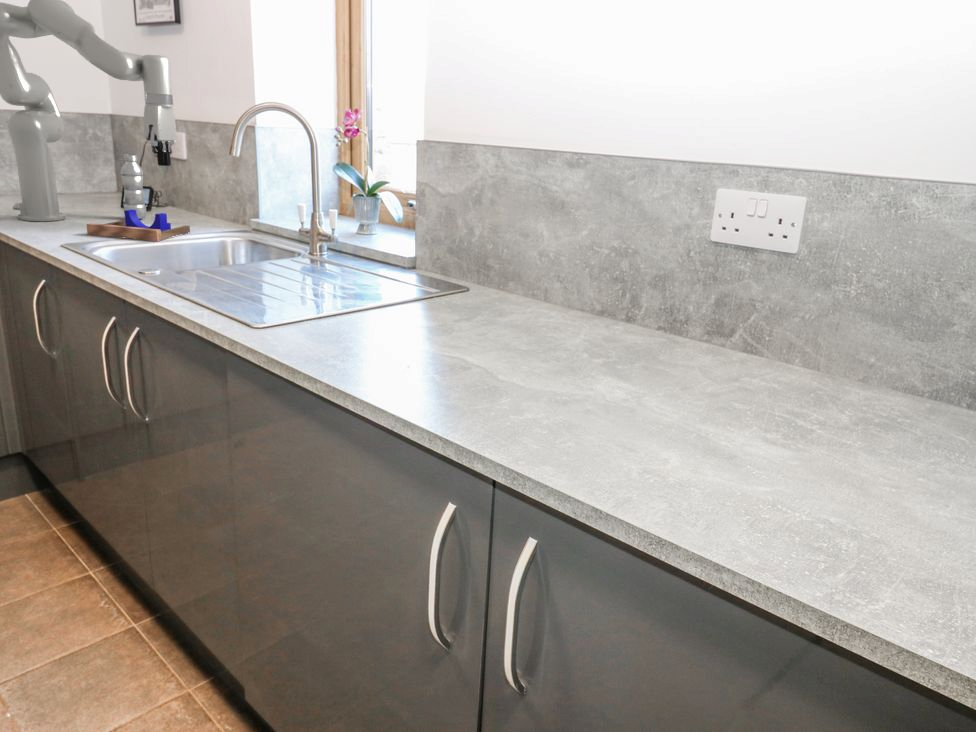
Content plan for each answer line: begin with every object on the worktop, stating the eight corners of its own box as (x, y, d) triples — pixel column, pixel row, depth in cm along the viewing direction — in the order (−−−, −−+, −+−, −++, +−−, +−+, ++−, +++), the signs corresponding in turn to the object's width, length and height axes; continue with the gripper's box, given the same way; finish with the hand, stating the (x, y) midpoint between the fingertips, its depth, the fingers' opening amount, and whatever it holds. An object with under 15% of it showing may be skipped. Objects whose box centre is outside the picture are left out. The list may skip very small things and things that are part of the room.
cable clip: (171, 233, 220) (169, 212, 218) (161, 235, 216) (159, 214, 214) (136, 229, 222) (135, 208, 221) (126, 231, 218) (124, 210, 216)
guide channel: (87, 234, 208) (86, 223, 207) (124, 226, 224) (123, 216, 223) (157, 241, 205) (156, 230, 204) (190, 232, 221) (189, 222, 220)
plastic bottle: (120, 218, 237) (114, 153, 230) (140, 217, 242) (134, 153, 236) (131, 221, 233) (125, 155, 227) (151, 219, 239) (146, 155, 232)
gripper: (161, 100, 224) (166, 163, 230) (131, 99, 210) (138, 166, 216) (184, 102, 223) (189, 164, 229) (156, 101, 209) (161, 167, 215)
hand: (164, 165), depth 222 cm, fingers closed
